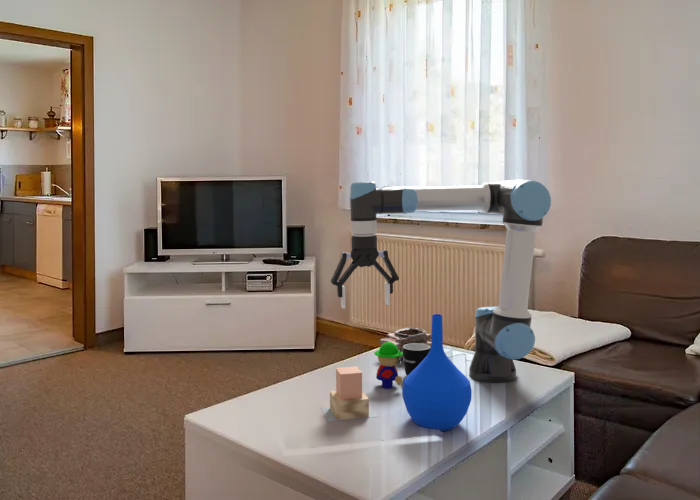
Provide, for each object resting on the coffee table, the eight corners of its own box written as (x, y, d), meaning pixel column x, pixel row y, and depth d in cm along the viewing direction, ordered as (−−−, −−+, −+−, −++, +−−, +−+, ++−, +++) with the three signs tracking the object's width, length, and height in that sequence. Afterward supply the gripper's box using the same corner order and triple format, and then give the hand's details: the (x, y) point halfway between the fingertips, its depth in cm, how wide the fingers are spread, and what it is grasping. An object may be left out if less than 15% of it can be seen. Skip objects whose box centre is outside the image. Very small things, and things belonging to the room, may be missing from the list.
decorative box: (441, 358, 235) (441, 332, 234) (396, 367, 225) (395, 340, 224) (419, 350, 246) (419, 325, 245) (375, 358, 236) (375, 332, 235)
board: (369, 408, 186) (369, 403, 186) (378, 420, 176) (378, 416, 176) (321, 412, 183) (321, 408, 183) (327, 425, 173) (327, 421, 173)
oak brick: (361, 405, 185) (360, 388, 184) (368, 416, 176) (368, 398, 176) (330, 408, 183) (329, 390, 182) (336, 419, 174) (336, 401, 174)
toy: (402, 396, 196) (402, 347, 194) (371, 394, 197) (371, 346, 196) (406, 384, 206) (406, 338, 204) (377, 383, 208) (376, 337, 206)
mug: (397, 375, 216) (397, 345, 214) (417, 370, 221) (417, 341, 220) (421, 384, 206) (421, 353, 205) (442, 379, 211) (442, 349, 210)
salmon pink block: (357, 390, 183) (356, 366, 182) (362, 397, 177) (362, 372, 176) (336, 392, 181) (336, 367, 180) (340, 399, 175) (340, 374, 175)
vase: (422, 407, 186) (423, 305, 183) (482, 421, 176) (484, 313, 172) (389, 428, 171) (389, 317, 168) (452, 444, 161) (453, 326, 157)
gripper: (400, 231, 196) (401, 300, 199) (319, 235, 190) (321, 306, 193) (408, 233, 189) (409, 305, 191) (324, 238, 183) (327, 312, 185)
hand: (365, 306), depth 192 cm, fingers open, 13 cm apart
